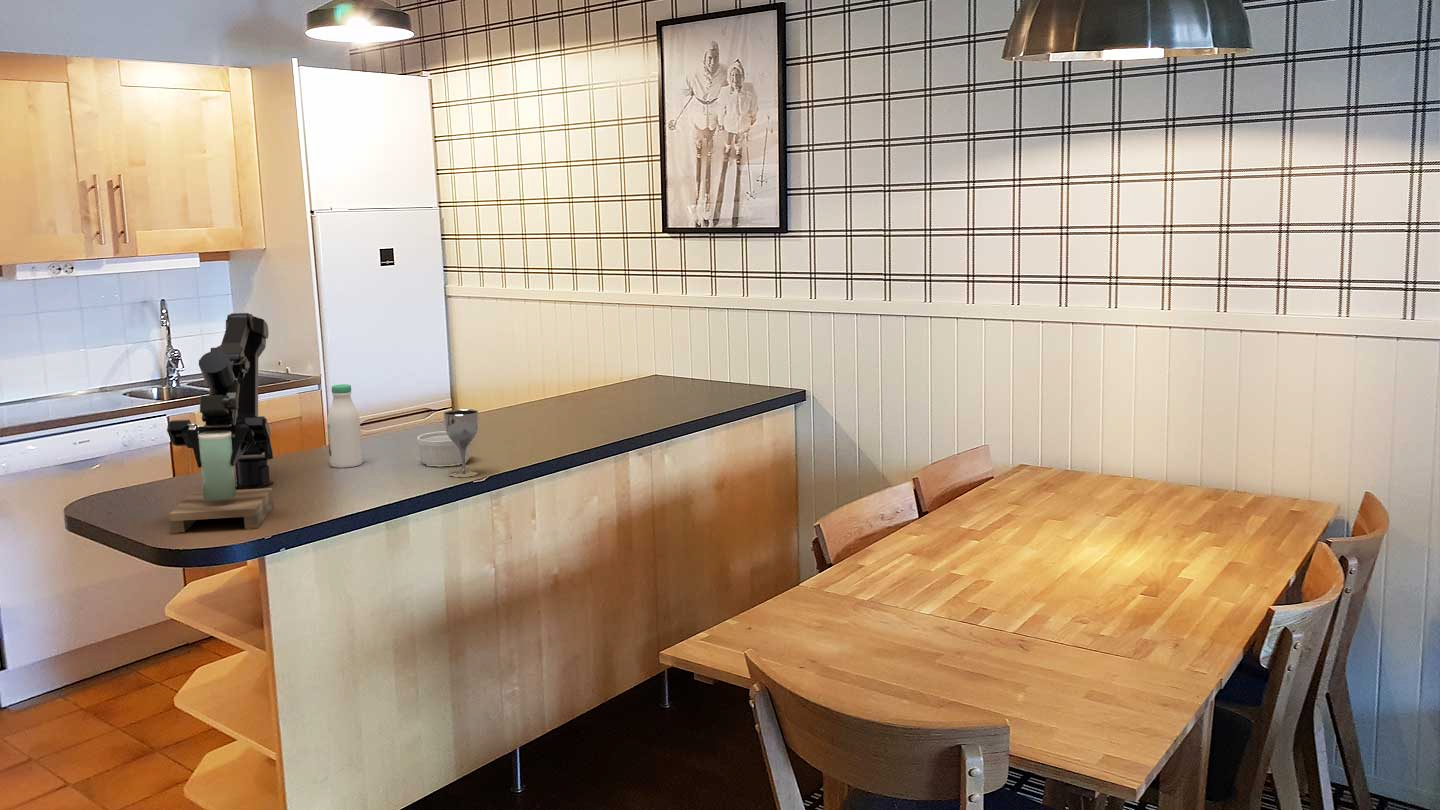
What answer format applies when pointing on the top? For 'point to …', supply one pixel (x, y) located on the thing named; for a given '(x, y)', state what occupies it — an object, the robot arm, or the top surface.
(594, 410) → the top surface
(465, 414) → the wine glass
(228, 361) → the robot arm
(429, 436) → the ramekin
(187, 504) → the wooden pallet
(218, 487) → the tumbler
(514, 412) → the top surface
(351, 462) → the milk bottle
